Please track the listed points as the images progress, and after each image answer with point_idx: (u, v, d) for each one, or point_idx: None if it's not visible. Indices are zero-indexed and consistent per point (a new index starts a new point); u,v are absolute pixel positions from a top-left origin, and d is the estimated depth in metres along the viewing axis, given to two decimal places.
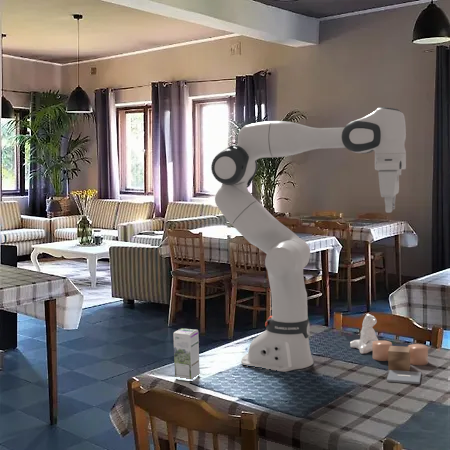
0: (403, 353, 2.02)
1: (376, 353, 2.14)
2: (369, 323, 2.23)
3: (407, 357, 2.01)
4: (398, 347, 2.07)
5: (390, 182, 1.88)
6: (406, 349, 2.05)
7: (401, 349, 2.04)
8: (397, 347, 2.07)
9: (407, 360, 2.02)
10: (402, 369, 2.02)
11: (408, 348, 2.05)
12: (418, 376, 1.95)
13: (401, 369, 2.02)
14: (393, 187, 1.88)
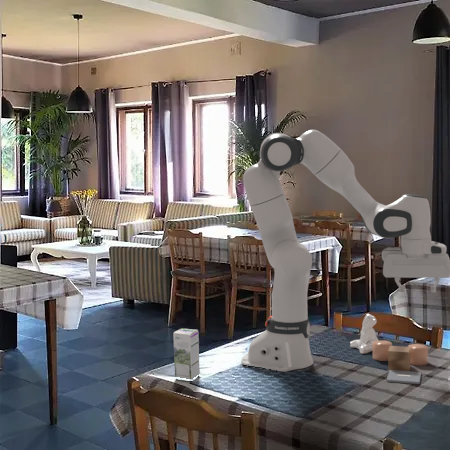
0: (403, 353, 2.02)
1: (376, 353, 2.14)
2: (369, 323, 2.23)
3: (407, 357, 2.01)
4: (398, 347, 2.07)
5: None
6: (406, 349, 2.05)
7: (401, 349, 2.04)
8: (397, 347, 2.07)
9: (407, 360, 2.02)
10: (402, 369, 2.02)
11: (408, 348, 2.05)
12: (418, 376, 1.95)
13: (401, 369, 2.02)
14: None
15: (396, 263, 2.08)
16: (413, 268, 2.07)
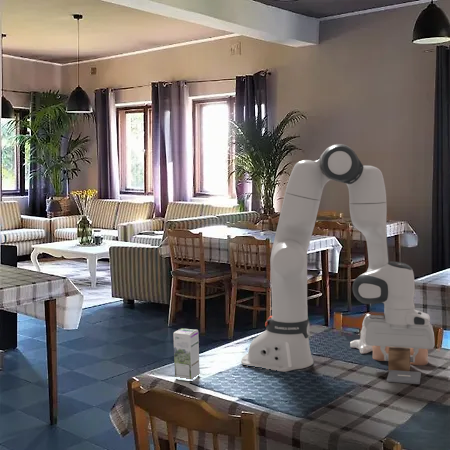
0: (403, 353, 2.02)
1: (376, 353, 2.14)
2: None
3: (407, 357, 2.01)
4: (398, 347, 2.06)
5: (433, 333, 2.02)
6: (406, 348, 2.05)
7: (401, 349, 2.04)
8: (397, 347, 2.07)
9: (407, 360, 2.02)
10: (402, 369, 2.02)
11: (408, 348, 2.05)
12: (418, 376, 1.95)
13: (401, 369, 2.02)
14: None
15: (379, 331, 2.05)
16: (396, 338, 2.03)
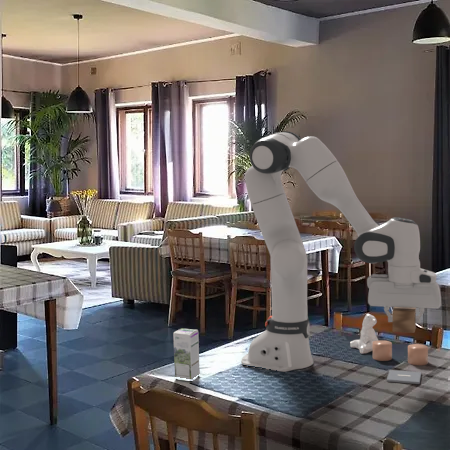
0: (408, 313, 1.91)
1: (376, 353, 2.14)
2: (369, 323, 2.23)
3: (412, 317, 1.91)
4: (403, 307, 1.96)
5: None
6: (411, 309, 1.94)
7: (405, 309, 1.94)
8: (402, 307, 1.96)
9: (412, 320, 1.91)
10: (407, 330, 1.92)
11: (413, 308, 1.95)
12: (418, 376, 1.95)
13: (406, 330, 1.92)
14: None
15: (382, 291, 1.94)
16: (400, 298, 1.93)
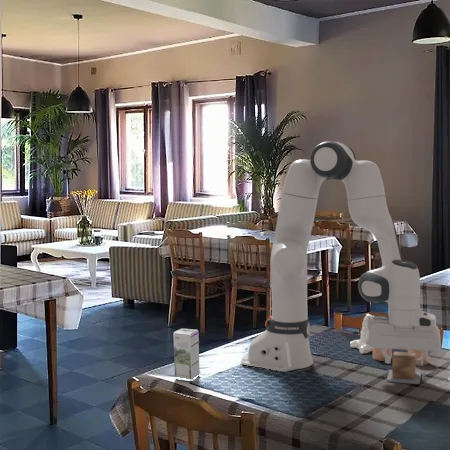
0: (408, 360, 1.93)
1: (376, 353, 2.14)
2: None
3: (412, 364, 1.92)
4: (403, 353, 1.97)
5: (439, 335, 1.93)
6: (411, 355, 1.95)
7: (405, 355, 1.95)
8: (402, 353, 1.97)
9: (412, 367, 1.92)
10: (407, 376, 1.93)
11: (413, 354, 1.96)
12: (418, 376, 1.95)
13: (406, 376, 1.93)
14: None
15: (382, 333, 1.96)
16: (400, 340, 1.94)
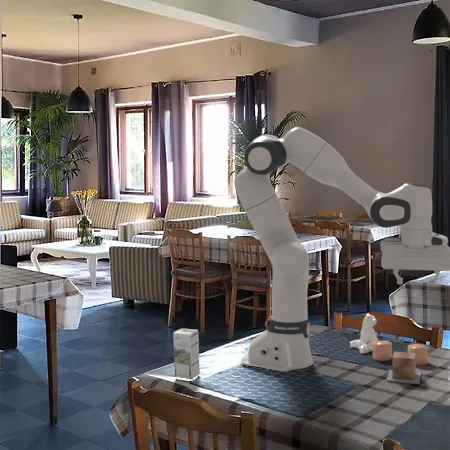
0: (408, 360, 1.93)
1: (376, 353, 2.14)
2: (369, 323, 2.23)
3: (412, 364, 1.92)
4: (403, 353, 1.97)
5: None
6: (411, 355, 1.95)
7: (405, 355, 1.95)
8: (402, 353, 1.97)
9: (412, 367, 1.92)
10: (407, 376, 1.93)
11: (413, 354, 1.96)
12: (418, 376, 1.95)
13: (406, 376, 1.93)
14: None
15: (395, 254, 2.00)
16: (413, 260, 1.99)
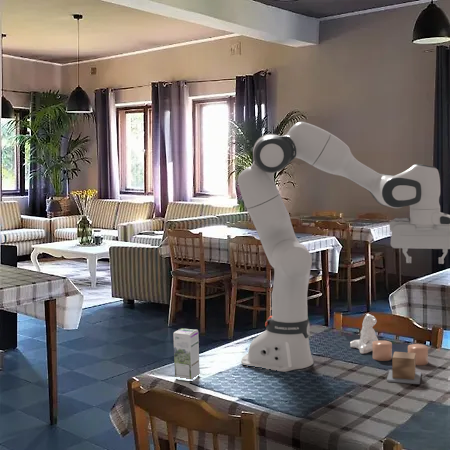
0: (408, 360, 1.93)
1: (376, 353, 2.14)
2: (369, 323, 2.23)
3: (412, 364, 1.92)
4: (403, 353, 1.97)
5: None
6: (411, 355, 1.95)
7: (405, 355, 1.95)
8: (402, 353, 1.97)
9: (412, 367, 1.92)
10: (407, 376, 1.93)
11: (413, 354, 1.96)
12: (418, 376, 1.95)
13: (406, 376, 1.93)
14: None
15: (404, 234, 2.06)
16: (421, 239, 2.05)
